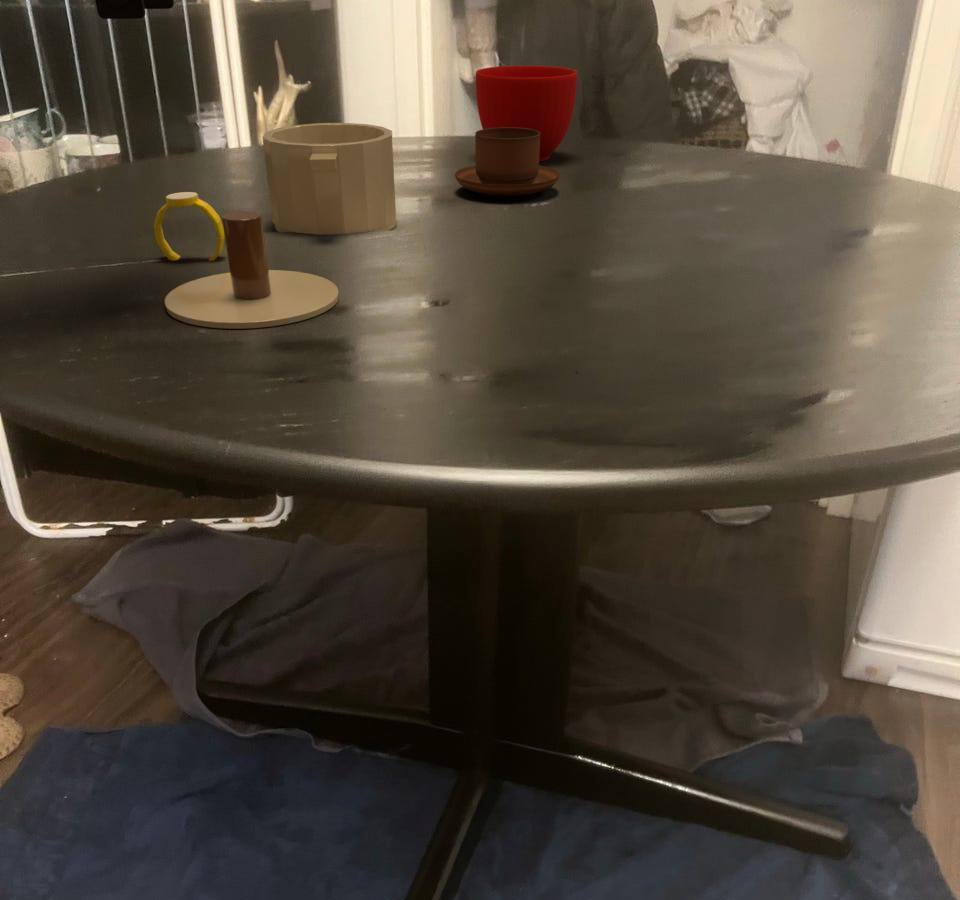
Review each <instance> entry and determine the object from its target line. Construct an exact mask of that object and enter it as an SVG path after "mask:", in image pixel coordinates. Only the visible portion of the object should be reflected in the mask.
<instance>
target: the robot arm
mask: <svg viewBox="0 0 960 900" xmlns="http://www.w3.org/2000/svg"><path fill="white" fill-rule="evenodd" d="M94 2H95V6H96V11H97V15H98V16H99V17H100V19H102V20H135V19H136V20H140V19H143V18H144V17H145V16H146V10H169V9H172V8H173V7H174V5H175V1H174V0H94Z"/></svg>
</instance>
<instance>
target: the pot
mask: <svg viewBox="0 0 960 900" xmlns="http://www.w3.org/2000/svg"><path fill="white" fill-rule="evenodd" d="M393 138H394V137H393V130H391V129H389V128H386V127H384V126H382V125H381V126H380V125H376V124H375V125H374V124H367V123H356V122H355V123H354V122H319V123H318V122H316V123H305V124H295V125H290V126H289V125H288V126H283V127H276V128H274V129H271V130H268V131H265V132H264V133H263V135H262V144H263V145H262V146H263V152H264V153H263V154H264V160H265V161H264V162H265V169H266V177H267V178H266V179H267V185H268V194H269V202H270V204H269V205H270V211H271V218H272V219H271V220H272V224H273V227H274V230H275V231H277V232H278V233H295V234H296V233H298V234H306V235H317V236H318V235H320V236H321V235H324V236H325V235H350V234H359V233H367V232H371V231H373V232H374V231H376V232H377V231H378V232H381V231H391V230H392V229H394V228H395V227H396V226H397V198H396V180H395V160H394V158H395V157H394V141H393Z"/></svg>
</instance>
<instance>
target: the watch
mask: <svg viewBox="0 0 960 900" xmlns="http://www.w3.org/2000/svg"><path fill="white" fill-rule="evenodd" d="M165 201H166V203H165V204H164V205H163V206H162V207H160V208H159V209H158V211H157V213H156V216H155V220H154V223H153V231H154V237H155V240H156V243H157V246H158V247H159V249H160V250H161V251H162V253H163V255H164V256H165V257H166V258H167V260H169V261H178V260H179V259H181V255H180V254H178V253H176V252H175V251H173V249H172V248H171V246H170V244H169V243H168V242H167V240H166V239H165V236H164V235H165V234H164V230H163V225H162V224H163V221H164V218H165V214H166V211H167V210H168V209H169V208H170V207H172V208H181V207H189V206H193V207H195V208H198V209H200V210H201V211H203V212H204V213H205V214H206V216H208V218H209V219H210V220H211V222H212V223H213V226H214V228H215V232H216V235H217V240H216V242H217V243H216V248H215V252H213V254H212V255H211V256H210V257H209V259H208V261H211V262H212V261H216V259H217V258H218V257H219V255H220V254H221V253H222V252H223V249H224V246H225V245H224V244H225V235H224V228H223V221H222V218H220V215H219V214H218V213H217V212H216V210H215V209H214V208H213V207H212V206H211V204H209V203H208V202H206V201H204V200H202V199H200V198H199V194H198V193H197V192H194V191H182V192H181V191H180V192H175V193H170V194H168V195H166V196H165Z"/></svg>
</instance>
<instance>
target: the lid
mask: <svg viewBox="0 0 960 900" xmlns="http://www.w3.org/2000/svg"><path fill="white" fill-rule="evenodd" d="M221 221H222V225H223V228H224V235H225V240H224V242H225V247H226V255H227V260H228V267H229V272H224V273H219V274H212V275H209V276H204V277H200V278H197V279H194V280H190V281H187V282H185V283H183V284H181V285H178V286H177V287H175V288H173V289H172V290H171V291H170V292H168V294H167V295H166V296H165V298H164V307H165V310H166V312H167V314H168V315H169V316H171V317H172V318H174V319H175V320H177V321H180V322H183V323H185V324H189V325H193V326H199V327H204V328H213V329H225V330H226V329H227V330H228V329H229V330H243V329H244V330H245V329H247V330H248V329H260V328H261V329H262V328H271V327H278V326H284V325H290V324H294V323H298V322H302V321H305V320H309V319H311V318H314V317H317V316H320V315H322V314H324V313H326V312H328V311H329V310H331V309H332V308H334V307H335V306H336V305H337V303H338V301H339V298H340V293H339V288H338V286H337V285H336V284H335V283H334V282H333V281H331V280H329V279H327V278H326V277H322V276H320V275H316V274H312V273H308V272H302V271H294V270H282V269H269V264H268V263H269V262H268V256H267V247H266V241H265V240H266V239H265V233H264V223H263V217H262V214H261V213H260V212H257V211H253V210H237V211H231V212H227V213H224V214H223V215H222V216H221Z"/></svg>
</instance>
